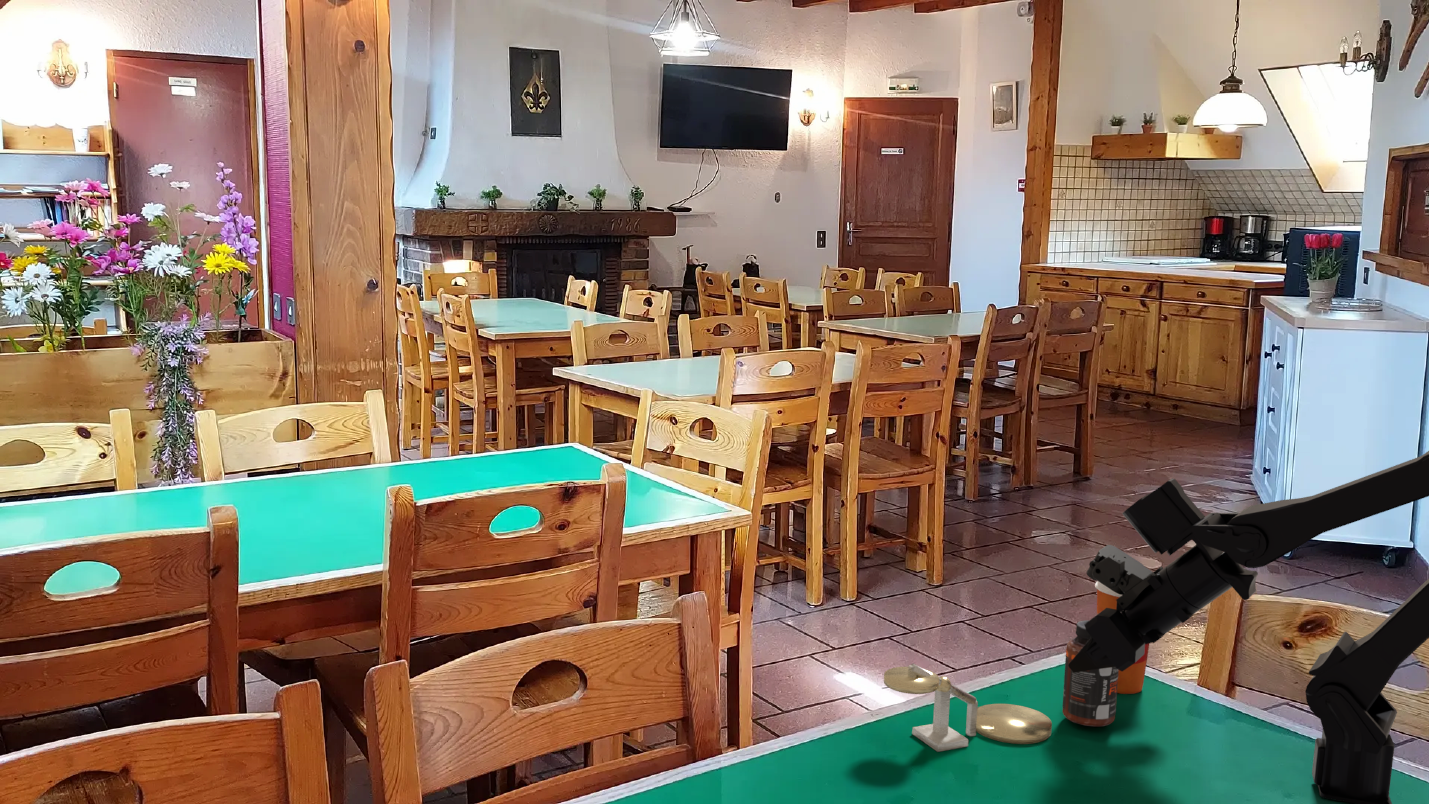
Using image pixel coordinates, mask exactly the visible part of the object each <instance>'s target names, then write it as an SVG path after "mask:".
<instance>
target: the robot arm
mask: <svg viewBox="0 0 1429 804" xmlns="http://www.w3.org/2000/svg"><path fill="white" fill-rule="evenodd" d="M1427 497H1429V450H1428V451H1426V452H1425V453H1424V454H1422V455H1421V456H1418V457H1415V458H1412V459H1409V460H1407V461H1404V462H1401V463H1399V464H1395V465H1392V466H1390V467H1387V468H1385V469H1382V470H1380V471H1377V472H1374V473H1370V474H1369V475H1365V476H1363V477H1361V478H1357V479H1354V480H1352V481H1350V482H1349V481H1348V482H1346V483H1344V484H1341V485H1338V486H1336V487H1333V488H1330V489H1328V490H1327V489H1326V490H1325V491H1322V492H1319V493H1316V494H1314V495H1310V496H1304V497H1303V496H1302V497H1298V498H1289V499H1281V500H1275V501H1270V502H1265V503H1259V504H1255V505H1254V504H1253V505H1251V506H1248V507H1246V508H1245V509H1243V510H1242V511H1240V512H1210V513H1207V515H1204V513H1202V511H1201V510H1200V509H1199V507H1198V506H1196V504H1195V503H1194V501H1192V499H1191V498H1189V496H1188V495H1187V493H1186V492H1185V490H1184V489H1183V486H1182V485H1181V484H1180V483H1179V482H1178V481H1177V480H1176V478H1171V479H1169V480H1167V481H1166V482H1164V483H1163V484H1162V485H1159V487H1157V488H1156V489H1155V490H1152V491H1151V492H1150V493H1148V494H1146V495H1144V496H1142V497H1141V498H1139V499H1138V500H1136V502H1134V503H1133V504H1131V505H1130V506H1128V507H1127V508H1126V509H1125V510H1124V511H1123V512H1122V513H1121V514H1122V515H1123V517H1124V518H1125V519H1126V521H1128V523H1129V524H1130V525H1131V527H1132V528H1133V529H1135V531H1136V533H1137V534H1138V535H1139V536H1140V537H1141V539H1142V540H1144V542H1145V543H1146V544H1147V546H1149V548H1150V549H1151V550H1152V551H1153V552H1154V554H1157V553H1158V552H1159V554H1160V555H1163V554H1164V553H1166V554H1167V555H1168V556H1169V557H1170V556H1171V555H1173V554H1174V553H1176V552H1177V551H1178V550H1179V549H1182V548H1183V546H1185V545H1187V544H1188V543H1189V542H1191V541H1193V543H1194V544H1195V545H1194V546H1192V547H1191V548H1190V549H1188V550H1187V551H1185V552H1184V553H1183V554H1181V555H1180V556H1178V557H1177V558H1176V559H1174V560H1173V561H1172V562H1170V563H1169V564H1168V565H1166V566H1164V567H1163V566H1160V567H1159V568H1157V569H1156V570H1154V571H1152V570H1151V569H1150V568H1148V567H1146V566H1145V565H1144V564H1143V563H1142V562H1141V561H1138V559H1135V558H1134V557H1132V556H1131V555H1129V554H1128V553H1126V552H1125V551H1123V550H1122V549H1120V548H1118V547H1117V546H1115V545H1112V544H1107V545H1105V546H1103V547H1102V548H1101V549H1099V550H1098V552H1097V553H1096V555H1095V557H1094V558H1093V559H1092V560H1091V561H1089V564H1088V566H1089V567H1088V568H1087V571H1086V575H1087V577H1088V578H1089V579H1091V580H1092V581H1095V582H1097V581H1099V582H1100V583H1102V584H1103V585H1105V586H1106V587H1108V588H1109V589H1111V590H1112V591H1114V592H1116V593H1118V594H1120V595H1122V596H1121V597H1119V598H1118V599H1117V600H1116V601H1117V606H1116V609H1111V608H1106V609H1104V610H1103V611H1102V612H1100V613H1099V614H1097V613H1096V615H1094V617H1092V618H1090V619H1088V620H1089V621H1088V622H1087V623H1085V624H1084V625H1085V628H1086V631H1087V632H1088V633H1089V634H1090V636H1091V638H1090V639H1089V641H1088V642H1087V643H1086V644H1085V645H1084V647H1083V648H1082V649H1081V650H1080V651H1079V652H1078V654H1077V655H1076V656H1075V657H1074V658H1073V659H1072V661H1071V662H1070V663H1069V664H1068V667H1069V668H1070V669H1071V670H1072V672H1074V673H1076V672H1082V671H1089V670H1095V669H1103V668H1111V667H1116V668H1117V669H1118V670H1120V671H1124V670H1125V669H1127V668H1128V667H1130V666H1131V665H1133V664H1134V663H1135V662H1136V661H1138V660H1139V659H1140V658H1141V657H1142V656H1143V655H1144V652H1145V644H1149V645H1150V644H1155V643H1156V642H1157V641H1159V640H1161V638H1162V637H1164V636H1165V635H1166V634H1167V633H1169V632H1170V631H1172V630H1173V629H1175V628H1176V627H1177V626H1179V625H1180V624H1184V623H1185V622H1186V621H1188V620H1190V618H1192V616H1194V615H1195V614H1196V613H1198V612H1199V611H1200V610H1201V609H1203V608H1204V607H1206V606H1208V605H1210V603H1213V601H1215V600H1216V599H1217V598H1219V597H1221V596H1222V595H1223V594H1225V593H1226V592H1228V591H1229V590H1230V589H1232V588H1233V590H1234V591H1235V592H1236V593H1237V594H1238V596H1240V598H1241V599H1242V600H1243V601H1248V600H1249V599H1250V598H1251V597H1252V596H1253V595H1254V594H1255V593H1256V587H1257V586H1256V580H1257V576H1258V575H1259V572H1258V571H1257V570H1250V569H1258V568H1263V567H1265V566H1267V565H1269V564H1271V563H1273V562H1274V561H1276V560H1278V559H1280V558H1282V557H1283V556H1285V555H1287V554H1289V553H1290V552H1292V551H1294V550H1296V549H1298V548H1299V547H1301V546H1303V545H1305V544H1306V543H1308V542H1309V541H1311V540H1313V539H1315V538H1316V537H1318V536H1321V534H1323V533H1324V534H1325V533H1327V532H1330V531H1332V530H1335V529H1339V528H1341V527H1344V526H1348V525H1349V524H1353V523H1355V522H1358V521H1362V520H1363V519H1364V520H1365V519H1367V518H1370V517H1374V516H1377V515H1378V514H1382V513H1384V512H1388V511H1390V510H1393V509H1396V508H1399V507H1401V506H1405V505H1407V504H1410V503H1412V502H1417V501H1420V500H1422V499H1425V498H1427ZM1428 639H1429V578H1428V579H1427V580H1426V581H1424V583H1422V584H1421V585H1420V586H1419V587H1418V588H1416V590H1415V591H1413V592H1412V593H1411V595H1409V597H1408V598H1407V599H1405V600H1404V602H1402V603H1401V604H1400V605H1399V607H1397V608H1396V609H1395V610H1394V611H1393V612H1392V613H1391V614H1390V615H1389V616H1388V617H1386V619H1385V620H1383V622H1381V623H1380V624H1379V625H1378V626H1377V627H1376V628H1375V629H1374V630H1373V631H1371V632H1370V633H1369V634H1366V635H1365V636H1363V637H1361V638H1358V639H1357V640H1354V638H1353V637H1352V636H1351V635H1350V634H1349V633H1348V632H1347V631H1344V632H1343V633H1342V634H1341V636H1340V638H1339V639H1338V640H1337V642H1336V643H1335V645H1334V646H1333V647H1331V649H1329V650H1328V651H1326V652H1323V653H1320V654H1319V655H1318V657H1317V659H1316V660H1315V662H1313V665H1312V666H1311V668H1310V669H1309V671H1308V674H1309V675H1310V676H1312V677H1311V679H1310V680H1309V682H1308V683H1307V685H1306V688H1305V699H1306V700H1305V701H1306V703H1307V705H1308V708H1309V710H1310V711H1311V712H1312V714H1313V715H1314V716H1315V717H1317V718H1318V719H1319V720H1320V723H1321V727H1322V734H1321V737H1317V738H1315V741H1314V742H1315V743H1314V750H1313V759H1312V761H1313V762H1312V768H1311V769H1312V770H1311V772H1312V773H1311V775H1312V778H1313V779H1312V780H1313V782H1314V784H1315V785H1316V786H1317V789H1318V791H1319V796H1320V797H1321V798H1323V799H1327V800H1333V801H1340V802H1345V803H1351V804H1393V803H1392V800H1391V798H1390V790H1391V788H1390V787H1391V780H1392V773H1393V772H1392V771H1393V763H1394V753H1395V747H1396V746H1395V743H1394V741H1393V739H1392V736H1391V734H1390V731H1391V729H1392V726H1393V724H1394V722H1395V719H1396V717H1397V714H1398V712H1397V711H1398V710H1397V709H1396V708H1395V707H1394V706H1393V705H1392V703H1390V701H1389V700H1388V698H1386V696H1385V695H1384V694H1383V693H1382V691H1383V690H1384V688H1385V687H1386V685H1387V684H1388V682H1389V681H1390V680H1391V678H1392V676H1393V675H1394V674H1395V672H1396V670H1397V669H1398V668H1399V666H1400V665H1402V663H1403V662H1405V660H1407V659H1408V658H1409V657H1410V656H1411V655H1412V654H1413V653H1414V652H1415V651H1416V650H1417V649H1419V648H1420V647H1421V646H1422V644H1424V643H1425V642H1426V641H1427V640H1428Z"/></svg>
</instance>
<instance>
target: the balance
mask: <svg viewBox="0 0 1429 804" xmlns="http://www.w3.org/2000/svg"><path fill="white" fill-rule="evenodd" d="M883 684H884V685H885V686H886V687H887V688H889V689H890V690H893V691H895V692H899V693H901V694H902V693H903V694H910V695H924V694H930V693H933V692H934V700H933V701H934V703H933V719H932V723H931V724H930V723H929V724H925V725H919V726H912V731H911V734H912V735H913V736H914V737H916V738H917V739H919V740H920V741H921V742H923V743H924V744H926V745H928V746H929V747H930V748H932V749H933V750H934V751H936V752H937V753H938V752H944V751H949V750H956V749H961V748H966V747H969V739H968V738H967V737H965V736H964V735H962V733H961V734H960V733H959V732H958V731H956V730H955V729H953V728H952V727H950V726H949V721H950V719H949V718H950V717H949V715H950V703H951V702H950V701H951V695H952V696H954V697H955V698H958V699H959V700H961V701H962V702H964V703H966V704H967V705H966V706H967V707H966V724H965V727H966V728H965V734H966V736H969V737H975V736H977V733H978V734H980V735H981V736H983V737H985V738H988V739H991V740H994V741H998V742H1002V743H1008V744H1014V745H1015V744H1016V745H1028V744H1029V745H1030V744H1037V743H1041V742H1044V741H1046V740H1048V739H1049V738H1050V737H1051V735H1052V727H1053V723H1052V720H1051V719H1050V718H1049V716H1047V715H1046V714H1044V713H1043V712H1041V711H1039V710H1036V709H1033V708H1030V707H1027V706H1023V705H1018V704H1011V703H992V704H991V703H990V704H984V705H981V706H978V705H979V704H978V703H979V702H978V701H977V698H976V697H975V696H974V695H972V694H970V693H969V692H966V691H965V690H963V689H961V688H959V687H958V686H956V685H953V684H952V682H951V680H950V679H949V677H947V676H943V675H942V676H939V675H938V674H936V673H935V672H933V671H931V670H929V669H925V668H923V667H921V666H919V665H917V664H915V663H911V664H910V665H908V666H896V667H892V668H889V669H886V671H884V674H883Z"/></svg>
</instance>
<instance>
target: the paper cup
mask: <svg viewBox="0 0 1429 804" xmlns="http://www.w3.org/2000/svg"><path fill="white" fill-rule="evenodd" d="M1094 587H1095V589H1096V592H1097V593H1096V615H1097V614H1099V613H1100V612H1102V611H1103V610H1104V609H1106V608H1111V609H1116V606H1117V601H1116V600H1117V599H1118V598H1119V597H1121V596H1122V595H1120V594H1118V593H1116V592H1114V591H1112V590H1111V589H1109V588H1108V587H1106V586H1105V585H1103V584H1102V583H1100V582H1099V581H1095V584H1094ZM1149 649H1150V643H1149V644H1145V652H1144V655H1143V656H1142V657H1141V658H1140V659H1139V660H1138V661H1136V662H1135V663H1134V664H1133V665H1131V666H1130V667H1128V668H1127V669H1125V670H1124V671H1120V670H1119V671H1118V672H1119V673H1118V685H1117V694H1121V695H1122V694H1123V695H1134V694H1138V693H1141V692H1142V690H1143V686H1144V682H1145V681H1144V680H1145V674H1146V670H1147V669H1146V668H1147V663H1148V656H1149V655H1148V654H1149Z"/></svg>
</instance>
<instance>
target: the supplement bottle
mask: <svg viewBox="0 0 1429 804" xmlns="http://www.w3.org/2000/svg"><path fill="white" fill-rule="evenodd" d="M1089 620H1090V619H1088V620H1080V621H1078V622H1077V623H1076V625H1075V626H1076V627H1075V628H1076V629H1075V635H1076V637H1073V638H1072V639H1070V640H1069V641H1068V642H1067V644H1066V647H1065V661H1064V664H1065V665H1064V677H1063V678H1064V679H1063V692H1062V693H1063V694H1062V695H1063V696H1062V714H1063V716H1064V717H1065V718H1066V719H1067V720H1068V721H1070V722H1072V723H1074V724H1076V725H1077V724H1078V725H1081V726H1086V727H1095V728H1096V727H1105V726H1106V727H1107V726H1109V725H1111V724H1112V723H1113V722H1114V721H1115V719H1116V712H1117V697H1118V693H1117V685H1118V673H1119V672H1118V671H1119V670H1118V669H1117V668H1116V667H1111V668H1103V669H1095V670H1089V671H1082V672H1076V673H1074V672H1072V670H1071V669H1070V668H1069V667H1068V664H1069V663H1070V662H1071V661H1072V659H1073V658H1074V657H1075V656H1076V655H1077V654H1078V652H1079V651H1080V650H1081V649H1082V648H1083V647H1084V645H1085V644H1086V643H1087V642H1088V641H1089V639H1090V638H1091V636H1090V634H1089V633H1088V632H1087V631H1086V628H1085V625H1084V624H1085V623H1087V622H1088V621H1089Z"/></svg>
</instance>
